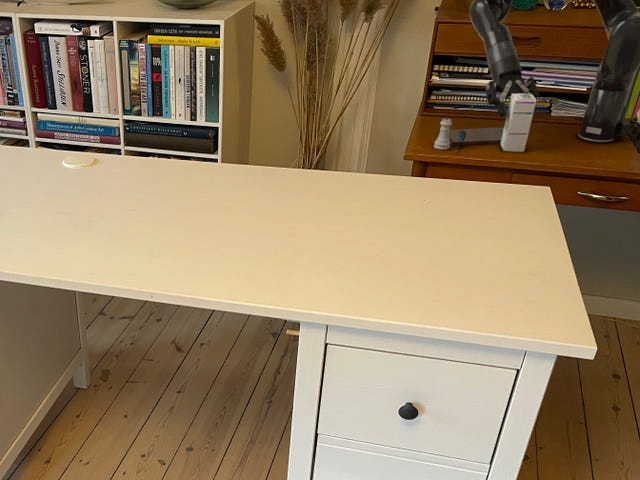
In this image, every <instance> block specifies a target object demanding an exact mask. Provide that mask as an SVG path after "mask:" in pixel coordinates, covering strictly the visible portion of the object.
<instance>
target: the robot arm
mask: <svg viewBox="0 0 640 480" xmlns="http://www.w3.org/2000/svg"><path fill="white" fill-rule="evenodd" d="M591 1H592V3H594V5H595V7H596V9H597V10H598V12H599V15H600V17H601V21H602V23H603V26H604V29H605V32H606V37H607V40H608V41H607V45H606V48H605V51H604V53H603V56H602V60H601V62H600V64H599V65H598V67H597V69H596V74H595V77H594V80H593V85H592V88H591V92H590V93H589V98H588V101H587V104H586V107H585V111H584V115H583V118H582V120H581V121H582V122H581V125H580V128H579V132H578V133H577V137H578V138H579V139H580V140H582V141H586V142H590V143H595V144H596V143H597V144H607V143H612V142H614V141H615V142H616V141H618V139H621V140H622V138H624V137H627V136H629V135H630V131H631V128H632V123H630V122H628V121H626V120H625V116H626V114H627V111H628V106H627V105H626V103H627V100H628V97H629V94H630V91H631V87H632V84H633V82H634V79H635V76H636V73H637V71H638V69H639V67H640V10H639V9H638V7H637V5H636V4H635V3H634V1H633V0H591ZM512 4H513V0H473V1H472V2H471V4H470V7H469V19H470V22H471V24H472V26H473V28H474V29H475V32H477V34H478V36H479V37H480V39H481V40H482V43H483V46H484V51H485V54H486V61H487V65H488V68H489V73H490V76H491V79H492V80H490V81H489V82H487V84H485V86H484V91H485V95H486V100H487V104H488V105H489V106H492V105H494V106H495V108H496V111H497V115H498V116H499V117H500V119H504V118H506V116H507V112H508V109H507V105H506V103H505V102H504V100H505V99H506V98H507V99H508V98H511V95H512V94H518V93H525V94H532V95H533V96H534V97H535V99H537V98H539V97H540V93H539V91H538V87H537V85H536V82H535V79H534V76H533V77H532V76H530V77H529V78H527V79H524V77H522V74H523V73H522V71H523V70H522V67H521V63H520V59H519V55H518V52H517V49H516V47H515V45H514V42H513V38H512V35H511V32H510V29H509V27H508V26H507V25H506V24H504V23H502V21H504V20H505V19H506V17H507V16H508V14H509V13H510V10H511V7H512ZM497 92H498V93H497ZM536 109H537V108H536V107H535V108H534V113H533V114H535V113H536V111H537V110H536Z"/></svg>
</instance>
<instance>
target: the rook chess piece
mask: <svg viewBox="0 0 640 480" xmlns="http://www.w3.org/2000/svg"><path fill="white" fill-rule="evenodd" d="M452 121H453V120H452V119H450V118H442V119H441V121H440V123H439V124H440V128H439V129H440V130H439V134H438V137H437V138H436V140H435V141H434V144H433V148H434V149H435V150H438V151H447V150H449V149H450V148H451V146H450V145H451V143H450V141H449V130H451V126H452V125H453V122H452Z"/></svg>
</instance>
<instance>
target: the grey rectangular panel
mask: <svg viewBox="0 0 640 480" xmlns="http://www.w3.org/2000/svg"><path fill="white" fill-rule="evenodd" d="M503 129H504V126H502V127H482V128H462V129H461V128H460V129H450V130H449V141H450V145H452V146H454V147H455V146H470V145H471V146H474V145H475V146H476V145H494V144H495V145H496V144H497V145H498V144H500V143H501V138H502V134H503ZM461 130H465V132H466V137H465V139H464V141H463V142H458V140H457V139H458V135H459V134H458V133H459V131H461Z"/></svg>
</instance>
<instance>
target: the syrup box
mask: <svg viewBox="0 0 640 480" xmlns="http://www.w3.org/2000/svg"><path fill="white" fill-rule="evenodd" d="M536 104H537V98H535V97H534V96H533V95H532V94H525V93H523V92H520V93H518V94H512V95H511V96H510V100H509V103H508V107H507V116H506V117H505V121H504V125H503V127H504V129H503V134H502V138H501V143H499V145H500V147H501V149H502V151H503V152H513V153H517V152H518V153H520V152H521V153H524V152H525V149H526V145H527V142H528V138H529V133H530V129H531V125H532V120H533V116H534V114H535V113H534V108H536Z"/></svg>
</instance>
